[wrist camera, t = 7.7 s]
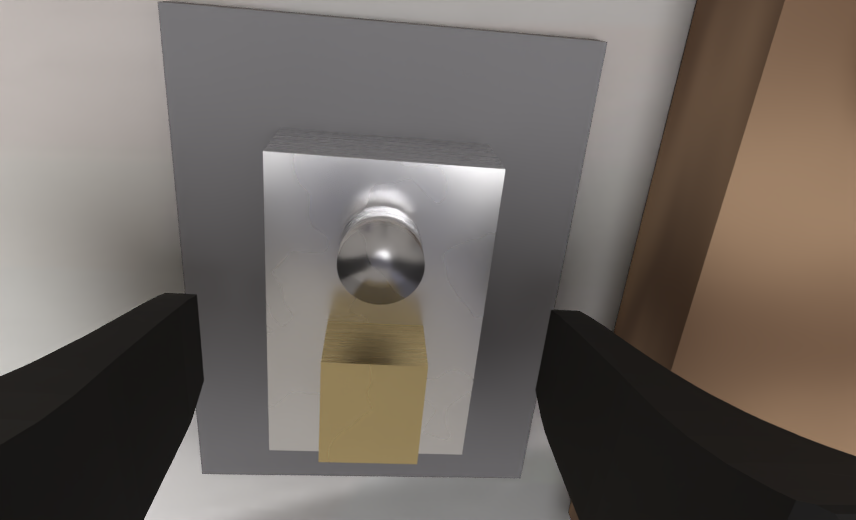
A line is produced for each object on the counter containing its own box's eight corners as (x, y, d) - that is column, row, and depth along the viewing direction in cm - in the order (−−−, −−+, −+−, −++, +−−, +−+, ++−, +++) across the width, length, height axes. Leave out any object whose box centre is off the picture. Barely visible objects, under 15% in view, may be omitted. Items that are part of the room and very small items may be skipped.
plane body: (773, 513, 19) (965, 769, 13) (568, 512, 19) (664, 780, 12) (1013, -22, 13) (1634, -35, 6) (710, -55, 12) (1071, -107, 6)
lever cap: (452, 401, 16) (470, 504, 13) (282, 395, 15) (256, 501, 12) (488, 144, 13) (523, 193, 10) (280, 127, 12) (244, 174, 9)
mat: (516, 463, 18) (520, 477, 17) (208, 458, 17) (202, 473, 16) (597, 40, 13) (607, 41, 12) (168, 1, 12) (157, 1, 11)
